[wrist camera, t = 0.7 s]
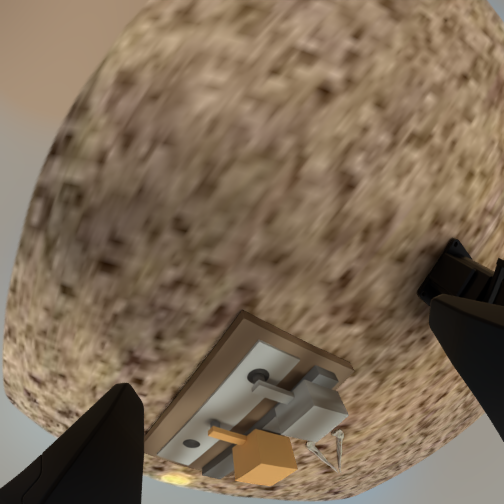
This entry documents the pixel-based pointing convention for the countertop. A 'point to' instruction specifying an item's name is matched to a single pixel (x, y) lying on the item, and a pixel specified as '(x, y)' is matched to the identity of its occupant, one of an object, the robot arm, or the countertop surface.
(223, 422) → the board
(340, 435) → the grey tweezers
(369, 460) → the countertop surface
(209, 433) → the orange block with tab
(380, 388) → the countertop surface
